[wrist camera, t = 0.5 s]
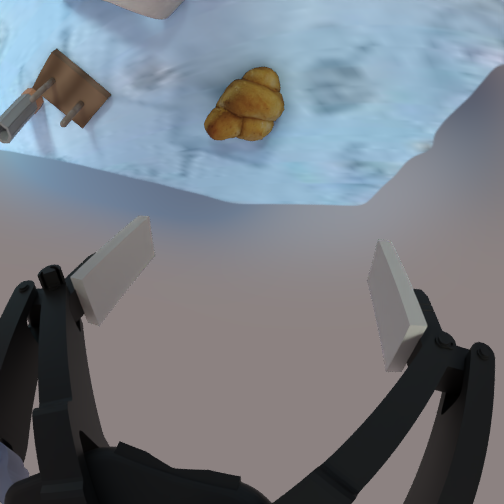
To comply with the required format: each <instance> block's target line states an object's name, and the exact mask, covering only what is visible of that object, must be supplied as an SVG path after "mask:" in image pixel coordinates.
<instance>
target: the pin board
mask: <svg viewBox="0 0 504 504" xmlns="http://www.w3.org/2000/svg"><path fill="white" fill-rule="evenodd" d="M33 89H34V90H36V92H35V93H34V94H33V95H32V96H31V97H30V102H32V103H33V102H35V101H36V100H37V99H38V98H39V97H40V96H41V95H42V96H43V97H44V98H45V99H47V100H48V101H49V102H50V103H52V104H53V105H54V106H55V107H57V108H58V109H59V110H60V111H61V112H63V113H64V114H65V115H66V116H65V117H64V118H63V120H62V121H61V122H60V125H61V127H66V126H67V125H68V123H69V122H70V121H71V120H73V121H74V122H75V123H76V124H78V125H79V126H80V127H81V128H84V126H85V125H86V124H87V123H88V121H89V120H90V119H91V118H92V116H93V115H94V114H95V113H96V112H97V110H98V109H99V108H100V107H101V106H102V105H103V104H104V102H105V101H106V100H107V99H108V98H109V97H110V96H111V94H110V93H109V92H108V91H107V90H106V89H104V88H103V87H102V86H101V85H100V84H98V83H97V82H96V81H95V80H94V79H93V78H91V77H90V76H89V75H88V74H87V73H85V72H84V71H83V70H82V69H81V68H79V67H78V66H77V65H76V64H75V63H73V62H72V61H71V60H70V59H69V58H67V57H66V56H65V55H64V54H63V53H61V52H60V51H59V50H58V49H56V50H54V51H53V52H51V54H50V56H49V58H48V59H47V61H46V63H45V65H44V66H43V68H42V70H41V72H40V74H39V76H38V78H37V80H36V82H35V84H34V86H33Z"/></svg>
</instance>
